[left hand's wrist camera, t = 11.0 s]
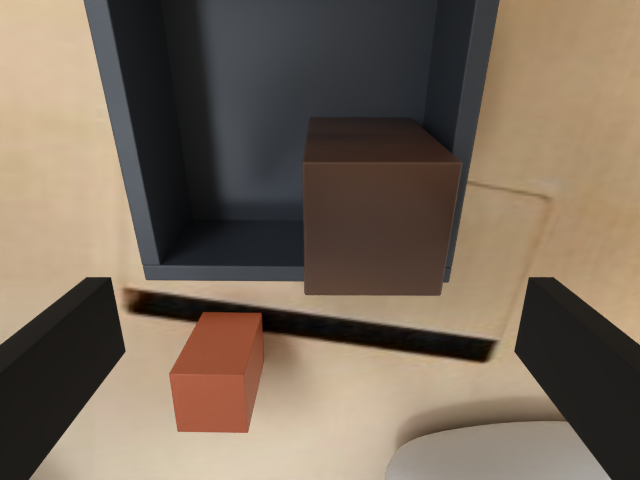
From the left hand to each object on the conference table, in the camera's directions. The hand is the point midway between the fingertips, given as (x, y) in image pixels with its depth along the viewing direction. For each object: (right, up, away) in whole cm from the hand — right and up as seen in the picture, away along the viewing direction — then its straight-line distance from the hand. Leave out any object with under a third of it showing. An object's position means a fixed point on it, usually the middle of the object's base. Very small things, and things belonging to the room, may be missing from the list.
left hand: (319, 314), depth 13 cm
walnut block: (+2, +6, +8) cm, 10 cm away
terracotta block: (-8, -6, +22) cm, 24 cm away
